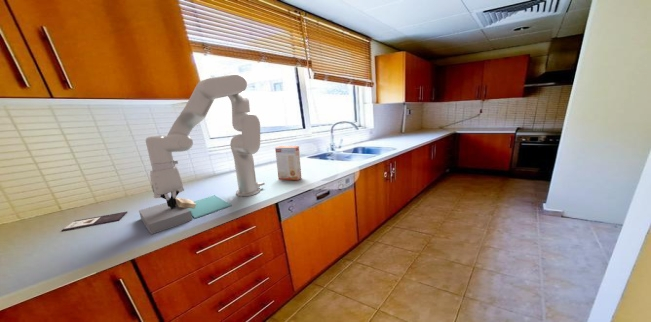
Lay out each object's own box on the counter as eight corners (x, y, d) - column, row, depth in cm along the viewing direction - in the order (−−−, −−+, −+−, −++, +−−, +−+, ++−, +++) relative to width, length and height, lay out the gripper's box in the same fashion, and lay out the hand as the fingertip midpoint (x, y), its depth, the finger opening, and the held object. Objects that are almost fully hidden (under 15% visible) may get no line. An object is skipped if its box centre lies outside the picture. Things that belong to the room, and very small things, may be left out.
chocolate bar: (118, 219, 95) (61, 230, 88) (119, 221, 95) (62, 232, 88) (127, 211, 103) (75, 220, 96) (127, 213, 103) (75, 222, 96)
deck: (178, 207, 106) (176, 199, 105) (192, 219, 92) (190, 210, 92) (141, 218, 96) (138, 210, 95) (151, 234, 82) (148, 224, 82)
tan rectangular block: (188, 203, 103) (190, 199, 104) (194, 208, 97) (196, 204, 97) (174, 202, 99) (175, 197, 99) (179, 207, 93) (181, 202, 93)
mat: (214, 196, 118) (214, 195, 118) (232, 205, 105) (231, 204, 104) (180, 206, 106) (180, 205, 106) (195, 218, 93) (194, 217, 93)
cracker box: (301, 178, 142) (299, 145, 137) (297, 180, 137) (294, 147, 132) (283, 176, 147) (280, 145, 142) (278, 179, 142) (274, 147, 137)
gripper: (181, 161, 99) (189, 199, 103) (138, 168, 88) (149, 211, 92) (186, 163, 94) (194, 203, 98) (142, 171, 83) (153, 216, 87)
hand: (172, 207), depth 95 cm, fingers closed
